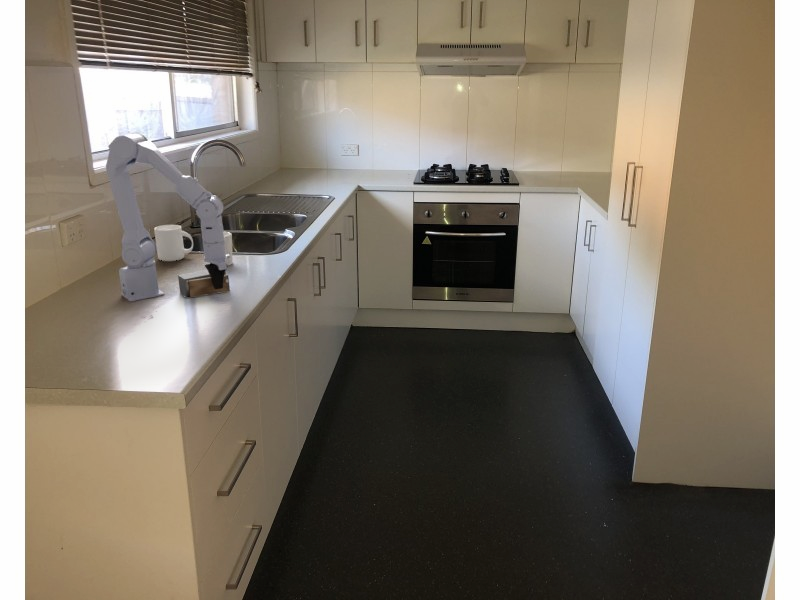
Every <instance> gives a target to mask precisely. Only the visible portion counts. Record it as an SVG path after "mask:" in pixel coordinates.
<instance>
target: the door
mask: <svg viewBox="0 0 800 600" xmlns="http://www.w3.org/2000/svg"><path fill="white" fill-rule="evenodd" d="M229 278H230V277H229V274H227V273H226V275H224V279H223V288H222V289H214V286H213V283H212V280H211V277H207V278H200V279H193V280H187V281H185V286H186V294H187V297H186V299H187V298H189V299H190V298H196V297H201V296H207V295H214V294H220V293H226V292H231V289H230V288H231V287H230V279H229Z"/></svg>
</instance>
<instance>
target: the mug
mask: <svg viewBox="0 0 800 600" xmlns="http://www.w3.org/2000/svg"><path fill="white" fill-rule="evenodd" d="M153 231H154V237H155V244H156V246H157V252H156V254H157V258H158V260H160V261H161V260H162V261H161V262H176V260H177V261H180V260H182V259H184V257H185V255H187V254H189V253H191V252H192V251H193V249H194V239H193V237H192V235H191V234H190V233H188V232H186V231H184V230H182V225H178V224H164V225H159V226H156V227H154V230H153ZM183 237H187V238H188V239H189V240H190V241H191V247H190V248H185V247H184V246H185V245H184V239H183Z"/></svg>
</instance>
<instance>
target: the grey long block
mask: <svg viewBox="0 0 800 600" xmlns="http://www.w3.org/2000/svg"><path fill="white" fill-rule="evenodd" d="M226 271H227V270H226ZM226 271H225V274H224V275H227V273H226ZM207 277H210V274H209V272H208V270H207V269H202V270H198V271H193V272H188V273H182V274H178V275H177V278H178V279H177V280H178V286H179V288H178V289H179V294H181V295H182V296H183V297H185V298H187V294H186V286H185V281H187V280H193V279H200V278H207Z"/></svg>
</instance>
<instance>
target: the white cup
mask: <svg viewBox="0 0 800 600" xmlns="http://www.w3.org/2000/svg"><path fill="white" fill-rule="evenodd" d="M223 232H224V243H225V253H226V254H229V255H230V258H227V260H226V264H227V267H228V266H229V267H230V266H232V265H233V263H234V262H233V236H232V233H231V232H228V231H223Z"/></svg>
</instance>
